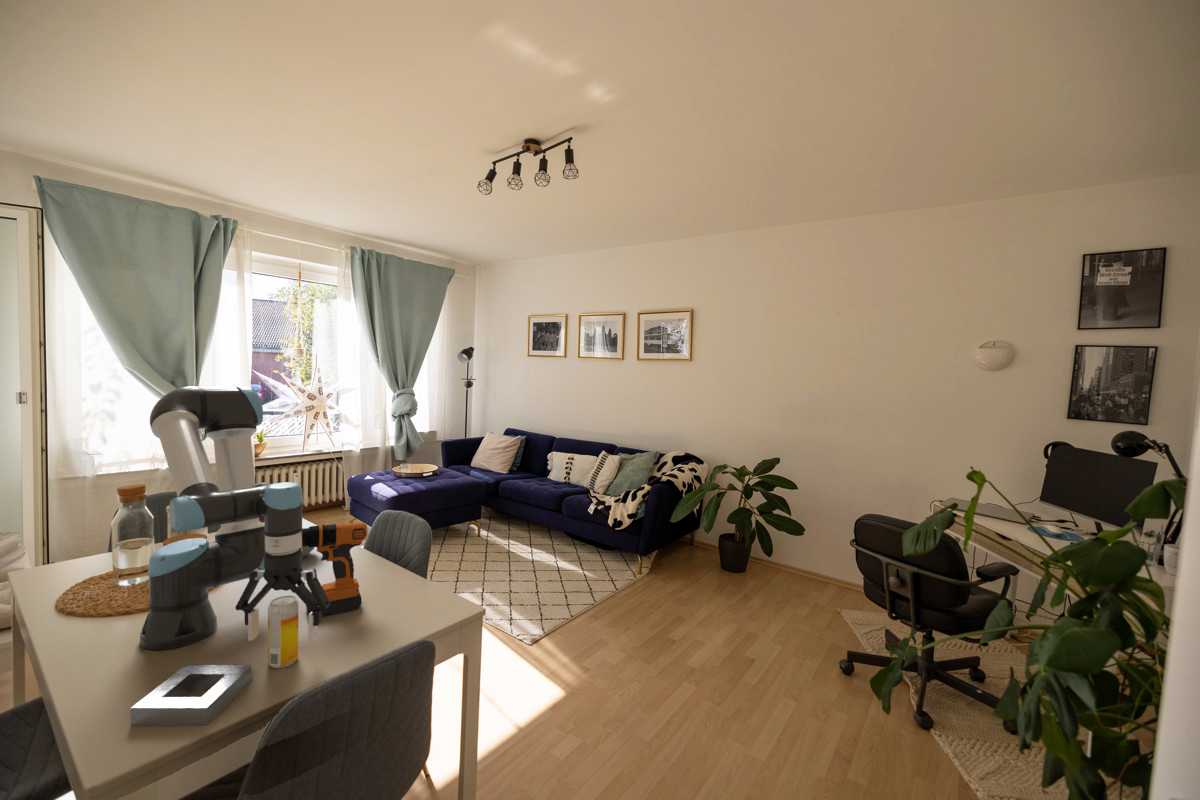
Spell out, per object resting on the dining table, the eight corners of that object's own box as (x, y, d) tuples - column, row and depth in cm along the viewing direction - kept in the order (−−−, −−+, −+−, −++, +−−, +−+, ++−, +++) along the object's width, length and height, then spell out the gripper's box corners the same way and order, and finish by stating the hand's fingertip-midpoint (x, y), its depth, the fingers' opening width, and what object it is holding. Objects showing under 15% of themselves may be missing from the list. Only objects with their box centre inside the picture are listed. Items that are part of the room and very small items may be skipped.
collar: (130, 725, 97) (130, 708, 97) (185, 680, 111) (185, 665, 111) (206, 724, 98) (206, 707, 98) (251, 680, 112) (251, 665, 112)
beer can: (303, 655, 123) (303, 595, 122) (288, 670, 116) (289, 607, 115) (277, 654, 122) (278, 594, 121) (262, 669, 116) (262, 606, 115)
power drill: (280, 625, 135) (280, 534, 134) (280, 614, 141) (280, 526, 140) (368, 607, 147) (369, 524, 145) (364, 597, 153) (365, 517, 151)
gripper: (216, 555, 113) (217, 646, 114) (331, 556, 115) (330, 646, 116) (238, 543, 121) (238, 629, 122) (345, 545, 122) (344, 629, 124)
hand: (283, 638), depth 119 cm, fingers open, 13 cm apart
